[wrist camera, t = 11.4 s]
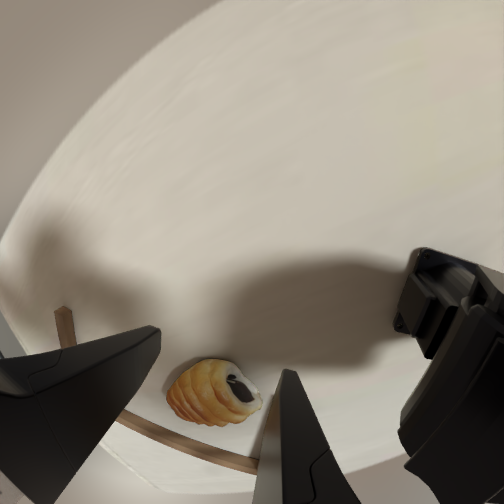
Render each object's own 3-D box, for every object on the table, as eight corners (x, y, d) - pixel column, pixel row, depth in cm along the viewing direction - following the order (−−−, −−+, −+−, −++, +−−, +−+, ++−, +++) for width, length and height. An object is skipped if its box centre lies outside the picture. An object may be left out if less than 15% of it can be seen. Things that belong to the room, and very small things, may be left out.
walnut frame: (304, 397, 23) (303, 408, 21) (268, 468, 27) (266, 477, 26) (62, 306, 27) (54, 311, 26) (79, 389, 31) (73, 395, 30)
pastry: (200, 420, 27) (187, 444, 23) (158, 376, 26) (139, 399, 23) (271, 397, 24) (262, 426, 20) (225, 344, 23) (209, 371, 20)
